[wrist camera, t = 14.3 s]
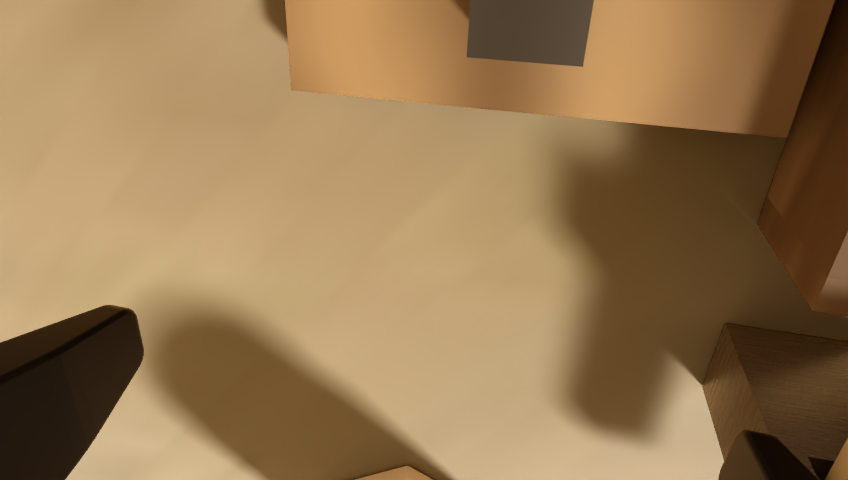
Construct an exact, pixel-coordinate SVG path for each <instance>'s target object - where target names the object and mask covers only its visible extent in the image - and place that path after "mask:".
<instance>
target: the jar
mask: <svg viewBox="0 0 848 480" xmlns="http://www.w3.org/2000/svg"><path fill="white" fill-rule="evenodd" d="M354 480H433V479H431V478H430V477H428V476H426V475H424V474H422V473H421V472H419V471H417V470H415V469H414V468H412V467H410V466H403V467H399V468H396V469H392V470H388V471H384V472H380V473H377V474H373V475H369V476H365V477H362V478H358V479H354Z"/></svg>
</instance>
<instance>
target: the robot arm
mask: <svg viewBox="0 0 848 480" xmlns="http://www.w3.org/2000/svg"><path fill="white" fill-rule="evenodd" d="M143 355H144V348H143V343H142V338H141V334H140V329H139V325H138V320H137V316H136V314H135V313H134V311H133V310H131V309H129V308H124V307H119V306H114V305H105V306H101V307H99V308H96V309H93V310H90V311H87V312H85V313H82V314H79V315H76V316H74V317H71V318H68V319H65V320H62V321H60V322H57V323H54V324H51V325H48V326H46V327H43V328H40V329H37V330H34V331H32V332H29V333H26V334H23V335H20V336H18V337H15V338H12V339H9V340H7V341H4V342H1V343H0V480H65V479H66V478H67V477H68V475H69V474H70V473H71V471H72V470H73V469H74V467H75V466H76V465H77V463H78V462H79V461H80V459H81V458H82V456H83V455H84V454H85V452H86V451H87V450H88V448H89V447H90V445H91V444H92V442H93V440H94V439H95V437H96V436H97V434H98V433H99V431H100V430H101V428H102V426H103V425H104V423H105V422H106V420H107V418H108V417H109V415H110V413H111V412H112V410H113V409H114V407H115V405H116V404H117V402H118V400H119V399H120V397H121V396H122V394H123V392H124V391H125V389H126V388H127V386H128V384H129V383H130V381H131V379H132V378H133V376H134V375H135V373H136V371H137V370H138V368H139V366H140V364H141V362H142V359H143ZM719 480H819V479H818V478H817V477H816V476H815V475H814V474H813V473H812V472H811V471H810V470H809V469H808V468H807V467H806V466H805V465H804V464H803V463H802V462H801V461H800V460H799V459H798V458H797V457H796V456H795V455H794V454H793V453H792V452H791V451H790V450H789V449H788V448H787V447H786V446H785V445H784V444H783V443H782V442H781V441H780V440H779V439H778V438H777V437H775V436H773V435H770V434H766V433H761V432H755V431H750V430H742V431H740V432H739V433H738V434H737V435H736V437H735V439H734V441H733V443H732V445H731V448H730V450H729V452H728V454H727V457H726V459H725V461H724V463H723V465H722V468H721V470H720V474H719Z"/></svg>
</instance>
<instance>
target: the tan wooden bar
mask: <svg viewBox="0 0 848 480" xmlns="http://www.w3.org/2000/svg"><path fill="white" fill-rule="evenodd" d="M825 480H848V438H847V440H846V442H845V444H844V446H843V447H842V449H841V451H840V453H839V455H838V457H837V458H836V460H835V462H834V464H833V466H832V468H831V469H830V471H829V473H828V475H827V477H826V479H825Z"/></svg>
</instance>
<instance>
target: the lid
mask: <svg viewBox="0 0 848 480" xmlns="http://www.w3.org/2000/svg"><path fill="white" fill-rule="evenodd" d="M834 2H835V0H285V9H286V23H287V37H288V51H289V65H290V79H291V90H294V91H304V92H315V93H325V94H335V95H346V96H356V97H367V98H377V99H387V100H398V101H408V102H419V103H429V104H439V105H450V106H460V107H470V108H481V109H491V110H502V111H512V112H522V113H533V114H543V115H553V116H564V117H574V118H585V119H595V120H605V121H616V122H626V123H636V124H647V125H657V126H668V127H678V128H688V129H699V130H709V131H719V132H730V133H740V134H751V135H761V136H771V137H782V138H787V136H788V133H789V130H790V127H791V125H792V122H793V119H794V116H795V113H796V110H797V107H798V105H799V102H800V99H801V96H802V93H803V90H804V87H805V85H806V82H807V79H808V76H809V73H810V70H811V67H812V65H813V62H814V59H815V56H816V53H817V50H818V47H819V45H820V42H821V39H822V36H823V33H824V30H825V27H826V25H827V22H828V19H829V16H830V13H831V10H832V7H833V5H834Z"/></svg>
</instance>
